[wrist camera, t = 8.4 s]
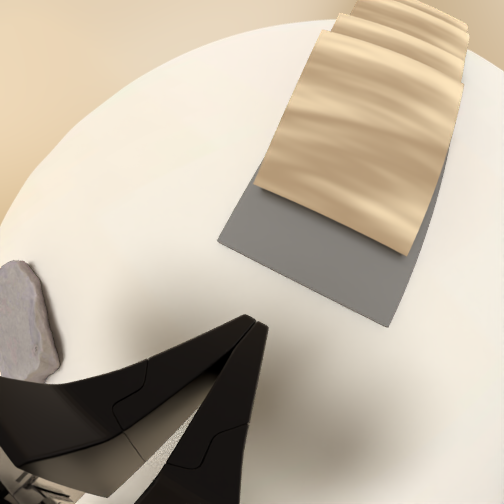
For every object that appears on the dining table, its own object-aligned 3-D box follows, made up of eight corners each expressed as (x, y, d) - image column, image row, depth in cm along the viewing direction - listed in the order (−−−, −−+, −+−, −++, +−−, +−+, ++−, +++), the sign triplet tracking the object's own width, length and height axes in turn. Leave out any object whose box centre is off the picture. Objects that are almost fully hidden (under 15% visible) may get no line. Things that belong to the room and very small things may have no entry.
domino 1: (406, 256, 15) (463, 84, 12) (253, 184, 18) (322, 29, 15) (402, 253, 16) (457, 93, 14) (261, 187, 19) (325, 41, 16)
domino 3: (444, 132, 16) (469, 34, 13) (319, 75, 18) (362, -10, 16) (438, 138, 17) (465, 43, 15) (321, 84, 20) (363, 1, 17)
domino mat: (386, 327, 16) (388, 327, 16) (218, 242, 19) (216, 240, 19) (456, 88, 18) (458, 86, 18) (338, 41, 21) (338, 38, 21)
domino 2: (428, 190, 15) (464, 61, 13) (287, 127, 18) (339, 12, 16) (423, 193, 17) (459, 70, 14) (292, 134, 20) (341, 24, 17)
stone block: (42, 257, 25) (-5, 310, 23) (14, 242, 21) (-33, 302, 19) (90, 355, 22) (34, 403, 20) (59, 354, 18) (4, 407, 16)
